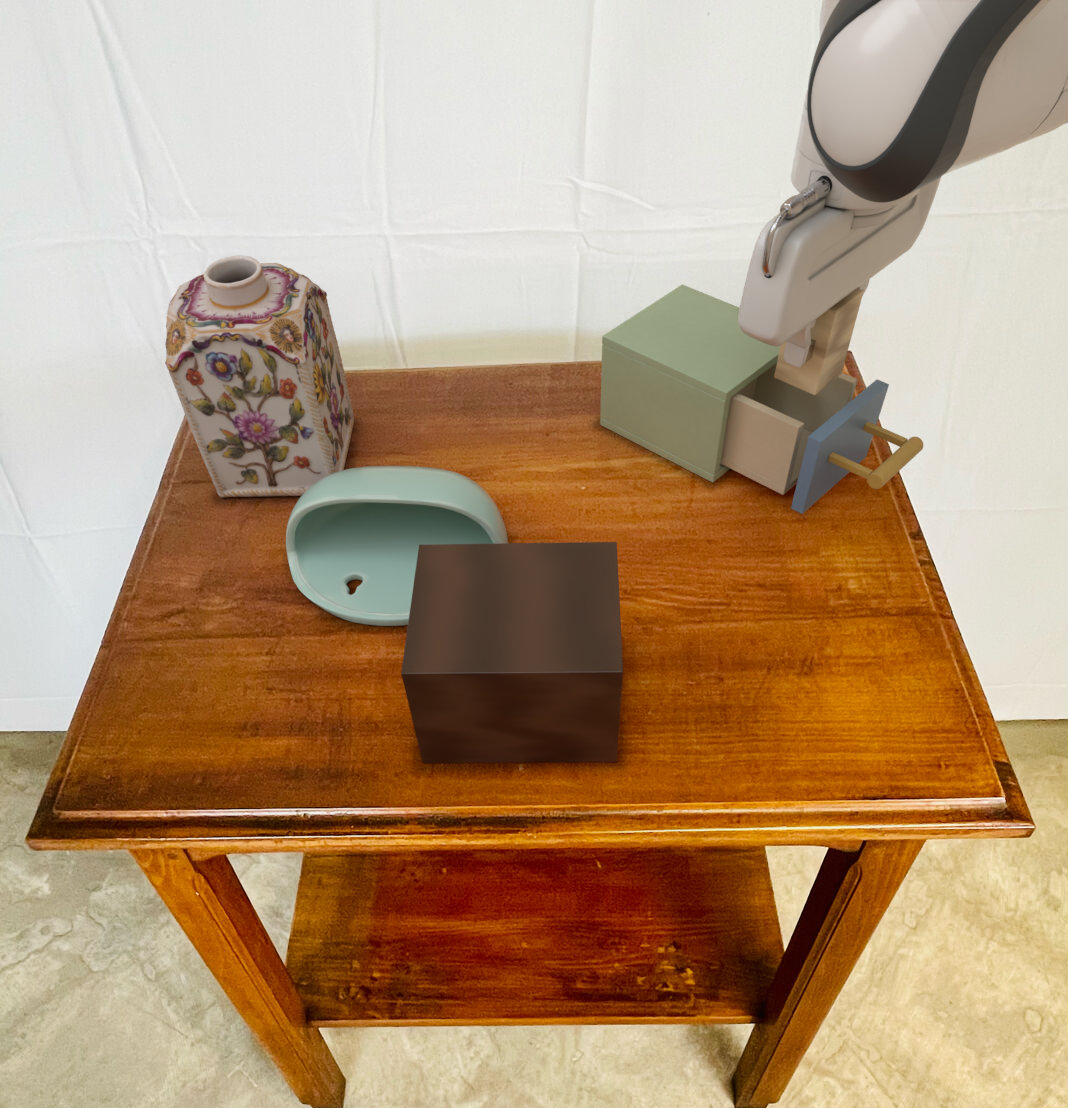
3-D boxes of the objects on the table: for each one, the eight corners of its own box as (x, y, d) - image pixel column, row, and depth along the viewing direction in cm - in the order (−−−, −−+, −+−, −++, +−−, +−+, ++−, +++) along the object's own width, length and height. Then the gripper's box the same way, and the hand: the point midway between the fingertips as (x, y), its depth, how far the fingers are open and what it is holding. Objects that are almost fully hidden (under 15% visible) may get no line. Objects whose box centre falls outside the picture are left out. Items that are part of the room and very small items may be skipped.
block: (800, 357, 76) (819, 273, 70) (841, 374, 75) (864, 290, 69) (773, 377, 75) (790, 294, 69) (815, 395, 73) (835, 311, 67)
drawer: (918, 480, 80) (946, 407, 74) (855, 541, 75) (879, 468, 69) (752, 404, 87) (765, 332, 81) (686, 455, 83) (695, 383, 77)
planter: (513, 428, 76) (492, 562, 66) (517, 498, 82) (498, 630, 72) (294, 424, 77) (243, 554, 68) (314, 493, 83) (270, 622, 74)
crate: (611, 638, 71) (616, 541, 63) (616, 762, 64) (623, 671, 56) (436, 640, 72) (418, 544, 64) (422, 763, 65) (400, 673, 57)
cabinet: (785, 424, 86) (805, 334, 79) (712, 483, 82) (726, 393, 74) (673, 372, 92) (682, 284, 85) (599, 425, 88) (602, 335, 80)
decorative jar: (358, 421, 89) (315, 231, 75) (342, 497, 82) (292, 305, 68) (239, 424, 90) (174, 235, 75) (214, 500, 83) (136, 309, 68)
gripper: (816, 225, 56) (774, 421, 67) (975, 119, 64) (914, 309, 75) (732, 196, 58) (706, 389, 70) (895, 97, 67) (848, 284, 78)
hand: (815, 346), depth 72 cm, fingers closed on block, 4 cm apart
